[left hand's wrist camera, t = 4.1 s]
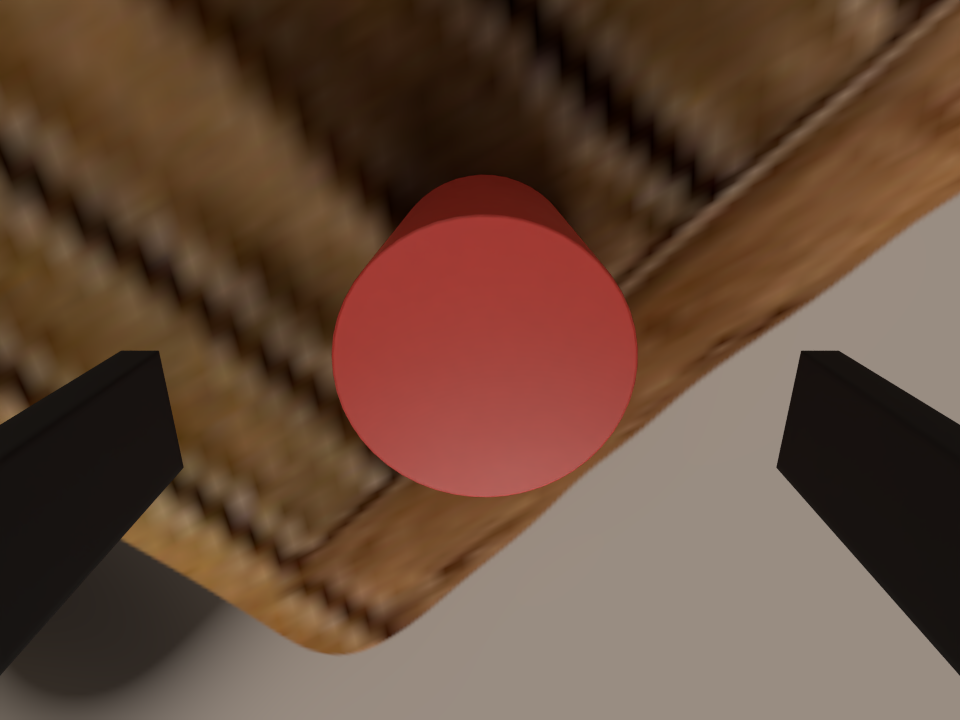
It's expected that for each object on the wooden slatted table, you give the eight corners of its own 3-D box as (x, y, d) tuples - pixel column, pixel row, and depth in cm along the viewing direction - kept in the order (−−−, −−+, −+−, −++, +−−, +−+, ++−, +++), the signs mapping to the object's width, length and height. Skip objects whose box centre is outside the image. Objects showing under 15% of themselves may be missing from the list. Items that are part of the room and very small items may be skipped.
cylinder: (573, 353, 23) (627, 495, 15) (399, 358, 24) (349, 501, 15) (579, 171, 21) (650, 209, 12) (383, 177, 21) (310, 219, 12)
